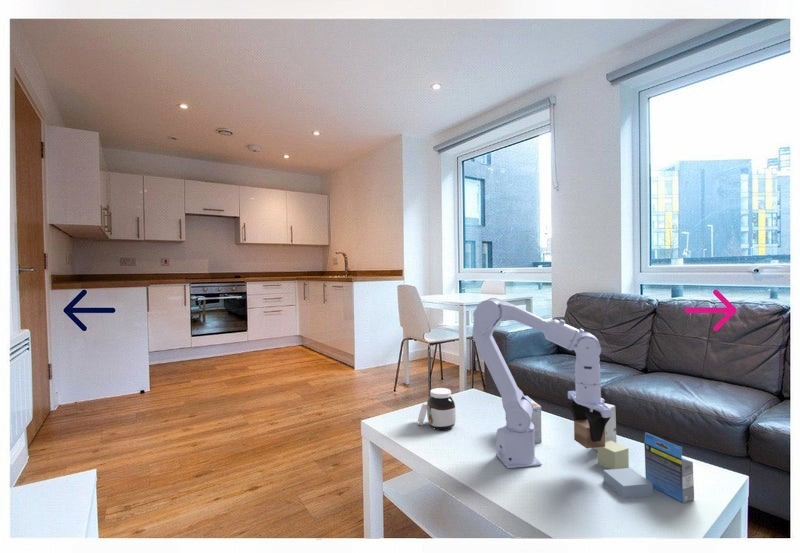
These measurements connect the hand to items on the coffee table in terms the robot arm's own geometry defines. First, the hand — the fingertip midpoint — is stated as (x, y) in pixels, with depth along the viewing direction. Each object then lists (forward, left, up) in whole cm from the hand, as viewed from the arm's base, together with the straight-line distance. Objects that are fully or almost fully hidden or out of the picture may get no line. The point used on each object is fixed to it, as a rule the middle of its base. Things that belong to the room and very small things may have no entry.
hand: (588, 436), depth 97 cm
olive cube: (+8, +2, -9) cm, 12 cm away
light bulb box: (-6, +23, -9) cm, 25 cm away
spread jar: (-31, +36, -9) cm, 48 cm away
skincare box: (+12, +11, -9) cm, 19 cm away
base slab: (+4, -8, -9) cm, 13 cm away
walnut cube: (0, 0, -2) cm, 2 cm away
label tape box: (+12, -11, -9) cm, 19 cm away
